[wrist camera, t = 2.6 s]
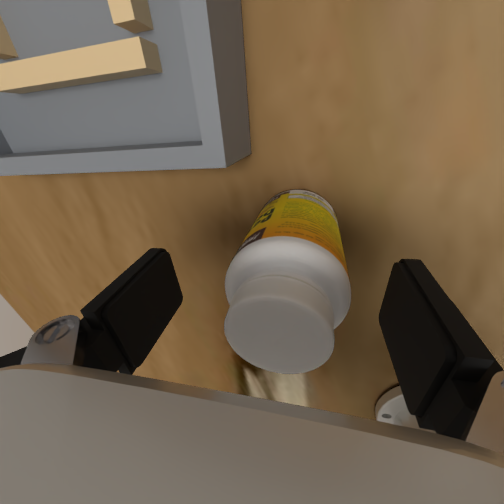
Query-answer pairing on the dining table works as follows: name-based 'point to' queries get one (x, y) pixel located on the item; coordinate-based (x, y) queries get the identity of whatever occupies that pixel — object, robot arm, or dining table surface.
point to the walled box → (121, 86)
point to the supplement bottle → (288, 285)
